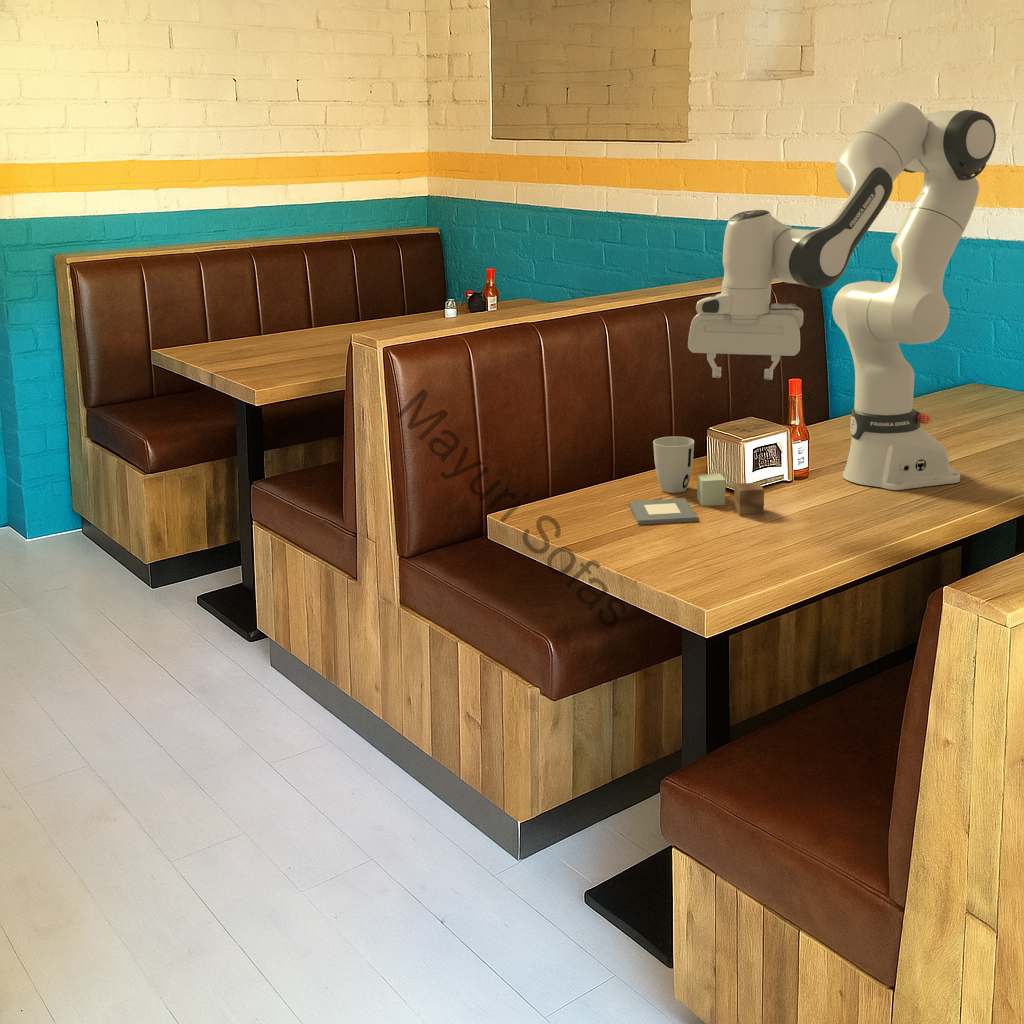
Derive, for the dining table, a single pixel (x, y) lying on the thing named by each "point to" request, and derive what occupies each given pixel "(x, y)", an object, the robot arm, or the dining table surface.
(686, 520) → the grey flat square plate
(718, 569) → the dining table surface
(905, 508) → the dining table surface
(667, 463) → the cup
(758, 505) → the walnut block
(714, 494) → the sage block
